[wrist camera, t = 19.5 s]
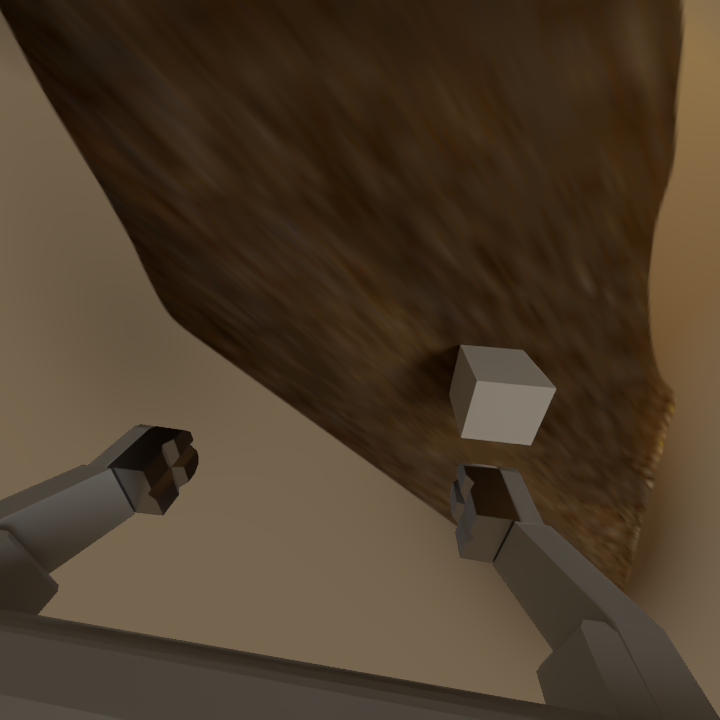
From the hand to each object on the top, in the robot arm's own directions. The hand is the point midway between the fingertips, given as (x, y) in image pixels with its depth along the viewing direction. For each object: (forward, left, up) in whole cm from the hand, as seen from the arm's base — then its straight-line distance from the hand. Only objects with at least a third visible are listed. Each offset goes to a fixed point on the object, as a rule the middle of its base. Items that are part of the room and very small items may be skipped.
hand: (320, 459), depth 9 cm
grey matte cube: (+10, +14, -25) cm, 31 cm away
